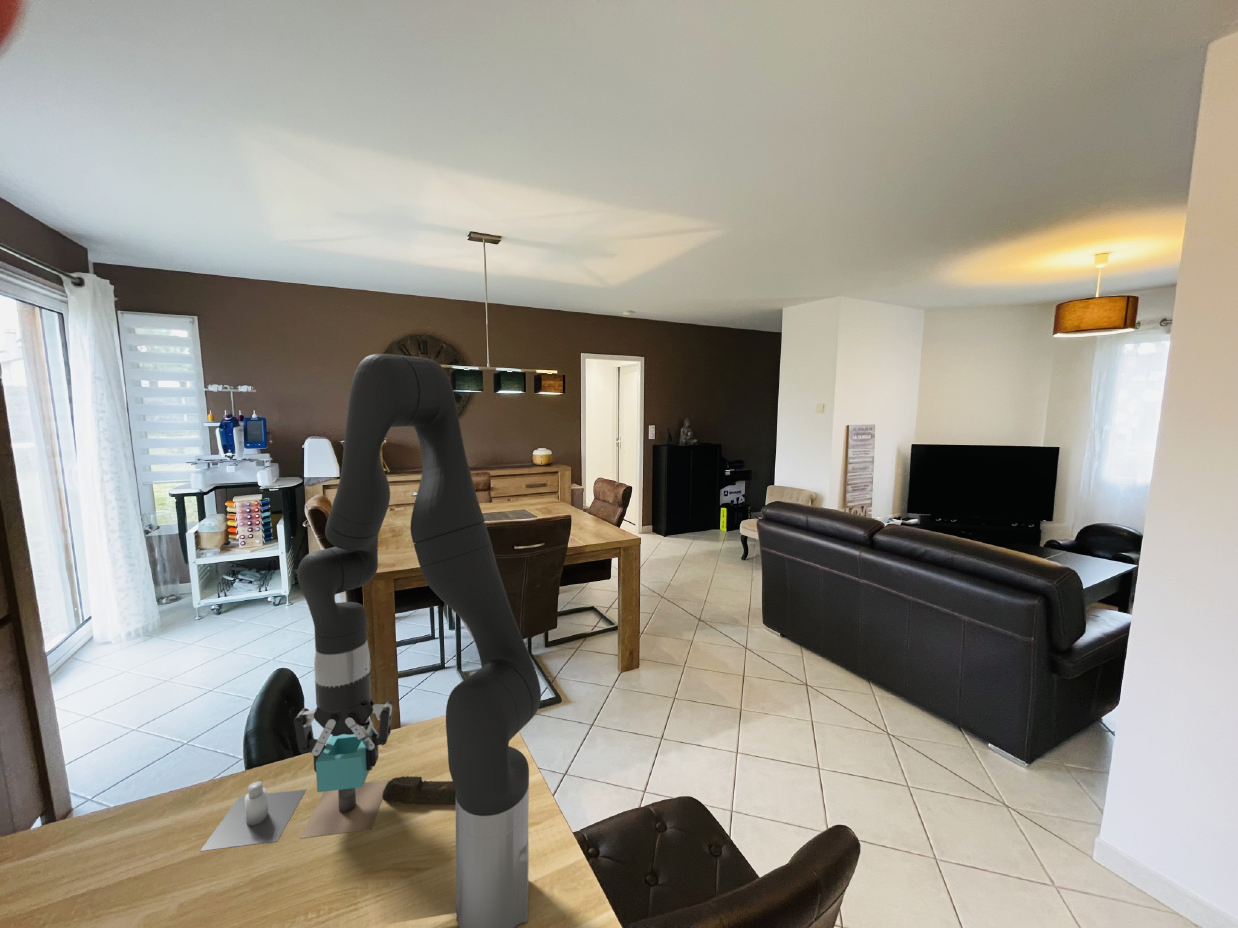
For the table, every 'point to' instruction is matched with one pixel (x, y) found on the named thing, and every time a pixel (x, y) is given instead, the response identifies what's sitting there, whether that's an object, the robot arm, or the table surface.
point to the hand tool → (420, 791)
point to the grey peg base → (255, 818)
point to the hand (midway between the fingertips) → (347, 769)
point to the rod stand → (345, 810)
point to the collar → (341, 764)
